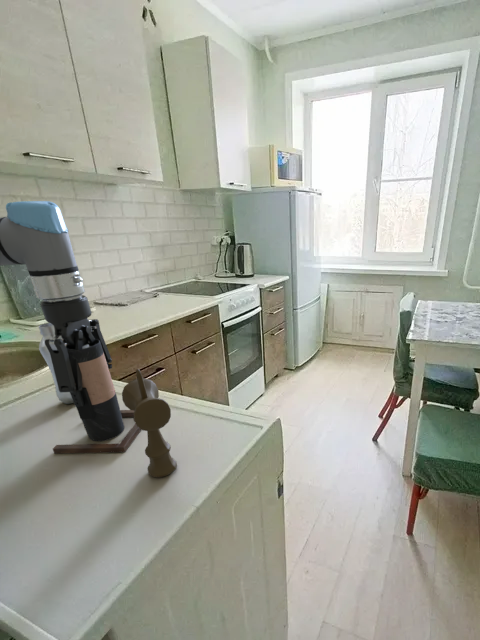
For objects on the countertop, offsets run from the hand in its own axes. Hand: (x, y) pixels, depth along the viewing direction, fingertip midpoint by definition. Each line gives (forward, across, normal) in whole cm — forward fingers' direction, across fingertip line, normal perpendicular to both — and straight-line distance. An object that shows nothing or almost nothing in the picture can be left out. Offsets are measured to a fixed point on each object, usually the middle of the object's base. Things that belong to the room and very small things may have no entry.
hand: (99, 407), depth 74 cm
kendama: (+6, -13, -17) cm, 22 cm away
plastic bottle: (+6, +15, +16) cm, 23 cm away
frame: (+6, 0, 0) cm, 6 cm away
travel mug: (+6, 0, 0) cm, 6 cm away
